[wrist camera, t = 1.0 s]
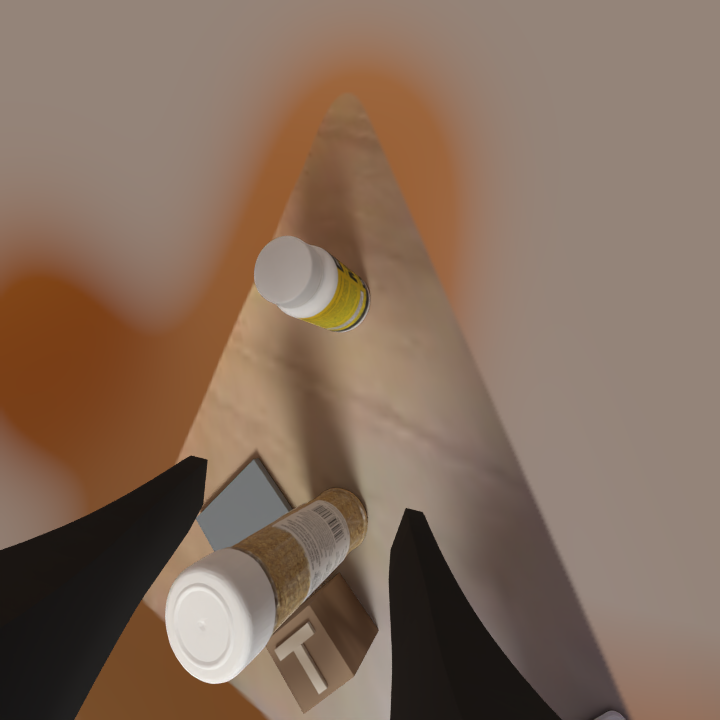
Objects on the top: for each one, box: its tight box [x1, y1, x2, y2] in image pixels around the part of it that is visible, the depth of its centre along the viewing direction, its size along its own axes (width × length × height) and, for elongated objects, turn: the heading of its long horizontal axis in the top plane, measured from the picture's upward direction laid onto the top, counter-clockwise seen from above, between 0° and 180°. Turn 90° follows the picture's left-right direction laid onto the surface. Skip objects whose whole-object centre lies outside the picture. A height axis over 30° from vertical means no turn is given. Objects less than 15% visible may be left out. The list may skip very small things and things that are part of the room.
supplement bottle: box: [254, 236, 370, 332], centre depth 25 cm, size 5×5×8 cm
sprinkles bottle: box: [165, 488, 368, 684], centre depth 21 cm, size 5×5×13 cm
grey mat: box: [196, 458, 293, 552], centre depth 29 cm, size 8×8×1 cm
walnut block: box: [266, 573, 379, 713], centre depth 24 cm, size 4×4×5 cm
